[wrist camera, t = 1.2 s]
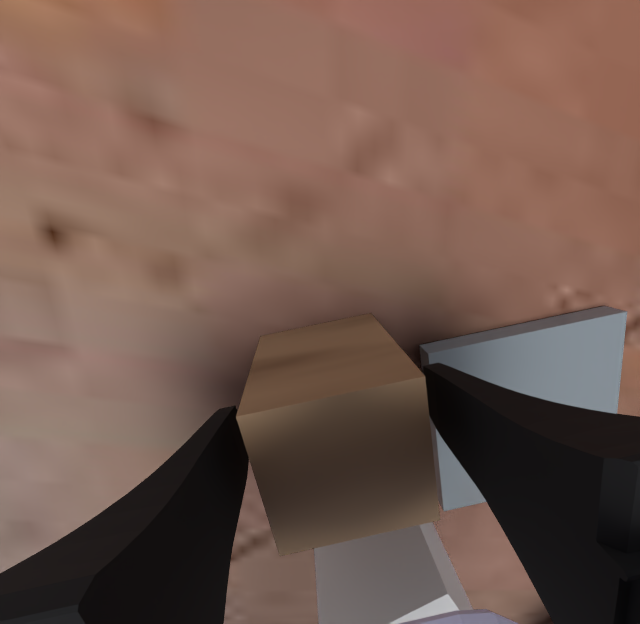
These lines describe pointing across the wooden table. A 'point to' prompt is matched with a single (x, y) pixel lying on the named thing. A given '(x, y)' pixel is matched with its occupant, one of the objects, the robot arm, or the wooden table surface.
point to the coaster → (532, 374)
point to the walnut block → (338, 434)
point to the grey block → (387, 578)
